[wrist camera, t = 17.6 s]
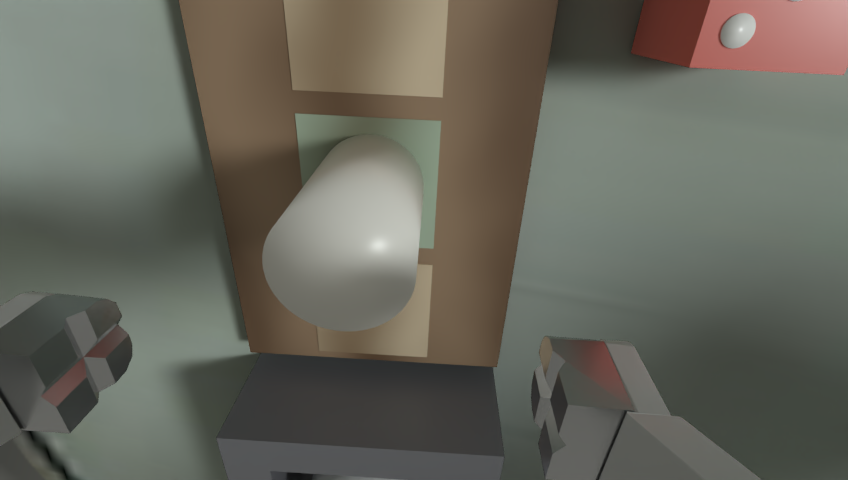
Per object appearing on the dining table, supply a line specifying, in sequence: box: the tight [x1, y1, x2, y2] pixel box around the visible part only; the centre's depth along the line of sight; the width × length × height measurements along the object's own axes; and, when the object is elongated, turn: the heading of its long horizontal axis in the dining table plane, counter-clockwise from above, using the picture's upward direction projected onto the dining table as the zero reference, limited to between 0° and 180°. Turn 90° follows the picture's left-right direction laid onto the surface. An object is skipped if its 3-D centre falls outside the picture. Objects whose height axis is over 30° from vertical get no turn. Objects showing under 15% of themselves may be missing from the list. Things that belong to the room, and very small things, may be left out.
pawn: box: [262, 134, 424, 331], centre depth 14 cm, size 4×4×6 cm
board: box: [179, 0, 558, 367], centre depth 14 cm, size 12×30×1 cm, turn 178°
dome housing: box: [216, 353, 504, 480], centre depth 23 cm, size 12×12×5 cm
